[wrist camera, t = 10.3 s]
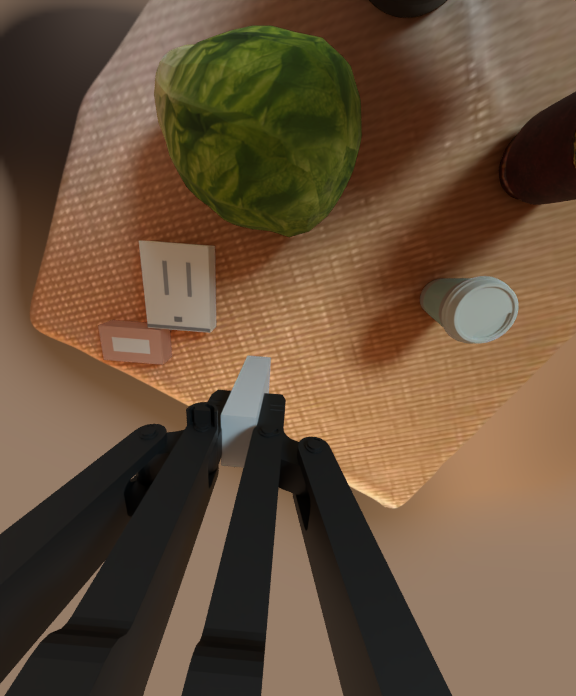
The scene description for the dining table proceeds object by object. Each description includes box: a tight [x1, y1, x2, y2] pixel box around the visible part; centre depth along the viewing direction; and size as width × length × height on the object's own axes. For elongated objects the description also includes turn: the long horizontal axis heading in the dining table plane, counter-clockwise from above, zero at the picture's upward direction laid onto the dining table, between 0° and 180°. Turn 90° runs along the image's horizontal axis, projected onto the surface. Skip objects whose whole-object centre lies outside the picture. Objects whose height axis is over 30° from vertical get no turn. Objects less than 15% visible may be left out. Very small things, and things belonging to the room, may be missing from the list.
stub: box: [98, 320, 172, 365], centre depth 47 cm, size 6×10×4 cm, turn 86°
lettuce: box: [154, 26, 362, 237], centre depth 31 cm, size 19×23×18 cm
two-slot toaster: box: [139, 240, 216, 333], centre depth 43 cm, size 13×10×4 cm
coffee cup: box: [420, 276, 518, 343], centre depth 39 cm, size 8×8×12 cm
